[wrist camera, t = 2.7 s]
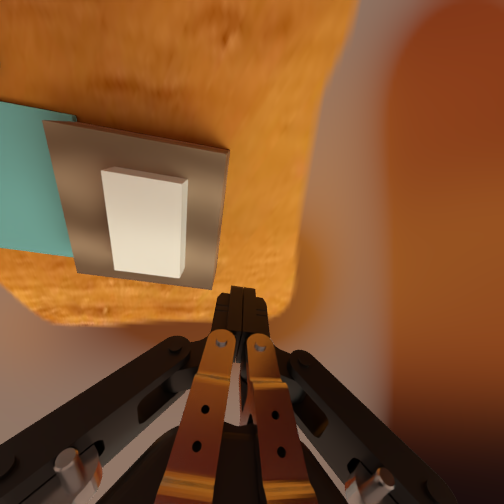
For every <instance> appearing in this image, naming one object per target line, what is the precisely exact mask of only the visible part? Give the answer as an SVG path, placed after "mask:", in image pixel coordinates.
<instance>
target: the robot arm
mask: <svg viewBox="0 0 504 504" xmlns="http://www.w3.org/2000/svg"><path fill="white" fill-rule="evenodd" d="M235 358H236V363H241V364H240V374H239V402H240V423H239V426H234V425H232V424H229V423H226V422H224V418H225V411H226V405H227V398H228V391H229V385H230V375H231V369H232V364H233V362H235ZM188 389H190V392H189V396H188V399H187V402H186V405H185V409H184V412H183V415H182V418H181V422H180V425H179V426H177V427H175V428H173V429H171V430H169V431H167V432H166V433H164V434H163V435H162V436H161V437H159V438H158V439H157V440H156V441H155V442H154V443H153V444H152V445H151V446H150V447H149V448H148V449H147V450H146V451H145V452H144V454H142V455H141V456H140V458H139V459H138V460H137V461H136V462H135V463H134V464H133V465H132V466H131V467H130V468H129V469H128V470H127V471H126V472H125V473H124V474H123V475H122V476H121V477H120V478H119V480H117V482H116V483H115V484H114V485H113V486H112V487H111V488H110V489H109V490H108V491H107V492H106V493H105V494H104V495H103V496H102V497H101V498H100V499H99V500H98V501H97V502H96V504H458V503H457V500H456V498H455V496H454V494H453V493H452V491H451V490H450V488H449V487H448V485H447V484H446V483H445V482H444V481H443V480H442V479H441V478H440V476H438V474H436V473H435V472H434V471H433V470H432V469H431V468H430V467H429V466H428V465H427V464H426V463H425V462H424V461H423V460H422V459H421V458H420V457H419V456H418V455H416V454H415V453H414V452H413V451H412V450H411V449H410V448H409V447H408V446H407V445H406V444H405V443H404V442H403V441H402V440H401V439H400V438H398V436H396V435H395V434H394V433H393V432H392V431H391V430H390V429H389V428H388V427H387V426H386V425H385V424H384V423H383V422H382V421H380V419H378V418H377V417H376V416H375V415H374V414H373V413H372V412H371V411H370V410H369V409H368V408H367V407H366V406H365V405H364V404H363V403H362V402H361V401H360V400H359V399H358V398H357V397H355V396H354V395H353V394H352V393H351V392H350V391H349V390H348V389H347V388H346V387H345V386H344V385H343V384H342V383H341V382H340V381H338V379H336V378H335V377H334V376H333V375H332V374H331V373H330V372H329V371H328V370H327V369H326V368H325V367H324V366H323V365H322V364H321V363H320V362H319V361H318V360H316V359H315V358H314V357H313V356H312V355H311V354H310V353H308V352H306V351H303V350H295V351H293V352H292V353H291V354H290V353H287V352H285V351H282V350H280V349H278V348H277V347H276V346H275V345H274V344H273V342H272V340H271V339H270V333H269V324H268V314H267V305H266V303H265V301H264V300H263V298H259V297H256V293H255V289H253V288H246V287H244V288H243V287H238V286H231V291H230V294H228V293H221V294H220V295H219V296H218V298H217V302H216V307H215V312H214V318H213V323H212V329H211V332H210V334H209V335H208V336H207V337H206V338H204V339H202V340H200V341H195V342H189V340H188V339H186V338H185V337H182V336H172V337H169V338H167V339H165V340H164V341H162V342H161V343H159V344H157V345H156V346H154V347H153V348H151V349H150V350H148V351H147V352H145V353H143V354H142V355H140V356H139V357H137V358H136V359H134V360H133V361H131V362H129V363H128V364H126V365H125V366H123V367H122V368H120V369H118V370H117V371H115V372H114V373H112V374H111V375H109V376H107V377H106V378H104V379H103V380H101V381H100V382H98V383H96V384H95V385H93V386H92V387H90V388H89V389H87V390H86V391H84V392H82V393H81V394H79V395H78V396H76V397H74V398H73V399H71V400H70V401H68V402H67V403H65V404H64V405H62V406H60V407H59V408H57V409H56V410H54V411H53V412H51V413H49V414H48V415H46V416H45V417H43V418H42V419H40V420H39V421H37V422H35V423H34V424H32V425H31V426H29V427H28V428H26V429H24V430H23V431H21V432H20V433H18V434H17V435H15V436H14V437H12V438H11V439H9V440H7V441H6V442H4V443H3V444H1V445H0V504H87V503H88V502H89V501H90V500H91V499H92V498H93V496H94V495H95V493H96V492H97V490H98V488H99V486H100V483H101V480H102V474H103V471H102V467H103V466H104V465H106V463H108V462H109V461H110V460H111V459H112V458H113V457H114V456H115V455H116V454H118V453H119V452H120V451H121V450H122V449H123V448H124V447H125V446H126V445H128V444H129V443H130V442H131V441H132V440H133V439H134V438H135V437H136V436H138V434H140V433H141V432H142V431H143V430H144V429H145V428H146V427H147V426H149V424H151V423H152V422H153V421H154V420H155V419H156V418H157V417H159V416H160V415H161V414H162V413H163V412H164V411H165V410H166V409H167V408H168V407H169V406H171V405H172V403H174V402H175V401H176V400H177V399H178V398H179V397H181V396H182V395H183V394H184V393H185V391H186V390H188ZM296 424H297V425H298V426H299V428H300V429H301V430H302V432H303V433H304V434H305V436H306V437H307V438H308V439H309V441H310V442H311V443H312V444H313V446H314V447H315V448H316V450H317V451H318V452H319V453H320V455H321V456H322V457H323V458H324V460H325V461H326V462H327V464H328V465H329V466H330V467H331V468H332V470H333V471H334V472H335V474H336V475H337V476H338V478H339V479H340V480H341V481H342V483H343V484H344V485H345V495H346V499H347V501H346V499H345V498H344V496H343V495H342V494H341V493H340V491H339V490H338V488H337V487H336V486H335V484H334V483H333V481H332V480H331V479H330V477H329V476H328V474H327V473H326V472H325V470H324V469H323V468H322V466H321V465H320V464H319V462H318V461H317V459H316V458H315V456H314V455H313V454H312V452H311V451H310V450H309V449H308V448H307V446H306V445H305V444H304V443H303V442H301V441H300V438H299V434H298V429H297V425H296Z"/></svg>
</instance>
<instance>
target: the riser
mask: <svg viewBox="0 0 504 504" xmlns="http://www.w3.org/2000/svg"><path fill="white" fill-rule="evenodd" d="M42 123H43V128H44V132H45V136H46V140H47V145H48V149H49V153H50V158H51V162H52V166H53V171H54V175H55V179H56V183H57V188H58V192H59V196H60V201H61V205H62V209H63V213H64V218H65V222H66V226H67V231H68V235H69V239H70V243H71V248H72V252H73V256H74V261H75V265H76V269H77V273H81V274H89V275H97V276H105V277H113V278H121V279H129V280H137V281H145V282H153V283H161V284H168V285H176V286H184V287H192V288H200V289H208V290H212V286H213V282H214V277H215V273H216V267H217V259H218V250H219V241H220V233H221V224H222V215H223V207H224V198H225V189H226V181H227V172H228V163H229V155H230V150H226V149H221V148H215V147H210V146H204V145H199V144H194V143H188V142H183V141H178V140H172V139H167V138H162V137H156V136H151V135H145V134H140V133H135V132H129V131H124V130H119V129H113V128H108V127H102V126H97V125H92V124H86V123H81V122H71V121H51V120H42ZM111 167H120V168H126V169H132V170H138V171H144V172H150V173H155V174H161V175H167V176H173V177H179V178H185V179H188V194H187V221H186V248H185V268H184V270H183V272H182V274H181V277H180V278H172V277H164V276H157V275H149V274H141V273H133V272H126V271H118V270H114V262H113V255H112V248H111V241H110V234H109V226H108V219H107V212H106V205H105V197H104V190H103V183H102V176H101V170H104V169H107V168H111Z"/></svg>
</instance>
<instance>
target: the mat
mask: <svg viewBox="0 0 504 504" xmlns="http://www.w3.org/2000/svg"><path fill="white" fill-rule="evenodd" d="M42 120H51V121H71V122H77V118H76V115H71V114H66V113H60V112H55V111H50V110H45V109H39V108H34V107H29V106H23V105H18V104H13V103H7V102H2V101H0V248H7V249H14V250H22V251H29V252H37V253H45V254H52V255H60V256H67V257H74V256H73V252H72V248H71V243H70V239H69V235H68V231H67V226H66V222H65V218H64V213H63V209H62V205H61V201H60V196H59V192H58V188H57V183H56V179H55V175H54V171H53V166H52V162H51V158H50V153H49V149H48V145H47V140H46V136H45V132H44V128H43V123H42Z"/></svg>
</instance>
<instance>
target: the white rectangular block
mask: <svg viewBox="0 0 504 504" xmlns="http://www.w3.org/2000/svg"><path fill="white" fill-rule="evenodd" d="M101 176H102V183H103V190H104V197H105V205H106V212H107V219H108V226H109V234H110V241H111V248H112V255H113V262H114V270H118V271H126V272H133V273H141V274H149V275H157V276H164V277H172V278H180V277H181V274H182V272H183V270H184V268H185V248H186V221H187V194H188V179H185V178H179V177H173V176H167V175H161V174H155V173H150V172H144V171H138V170H132V169H126V168H120V167H111V168H107V169H104V170H101Z"/></svg>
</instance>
